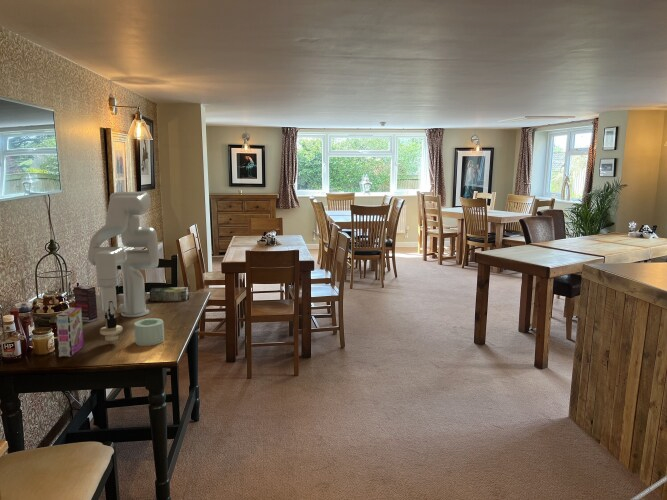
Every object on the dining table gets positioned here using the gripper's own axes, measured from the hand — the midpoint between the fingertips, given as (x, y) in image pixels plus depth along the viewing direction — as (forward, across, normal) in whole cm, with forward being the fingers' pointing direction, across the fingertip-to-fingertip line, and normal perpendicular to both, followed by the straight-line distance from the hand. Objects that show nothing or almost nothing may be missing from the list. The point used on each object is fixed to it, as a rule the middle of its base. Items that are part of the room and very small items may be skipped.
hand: (110, 325), depth 194 cm
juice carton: (+10, -57, +37) cm, 69 cm away
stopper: (+6, 0, 0) cm, 6 cm away
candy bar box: (+8, +1, -14) cm, 17 cm away
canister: (+8, +4, +14) cm, 16 cm away
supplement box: (+9, -39, -5) cm, 41 cm away
